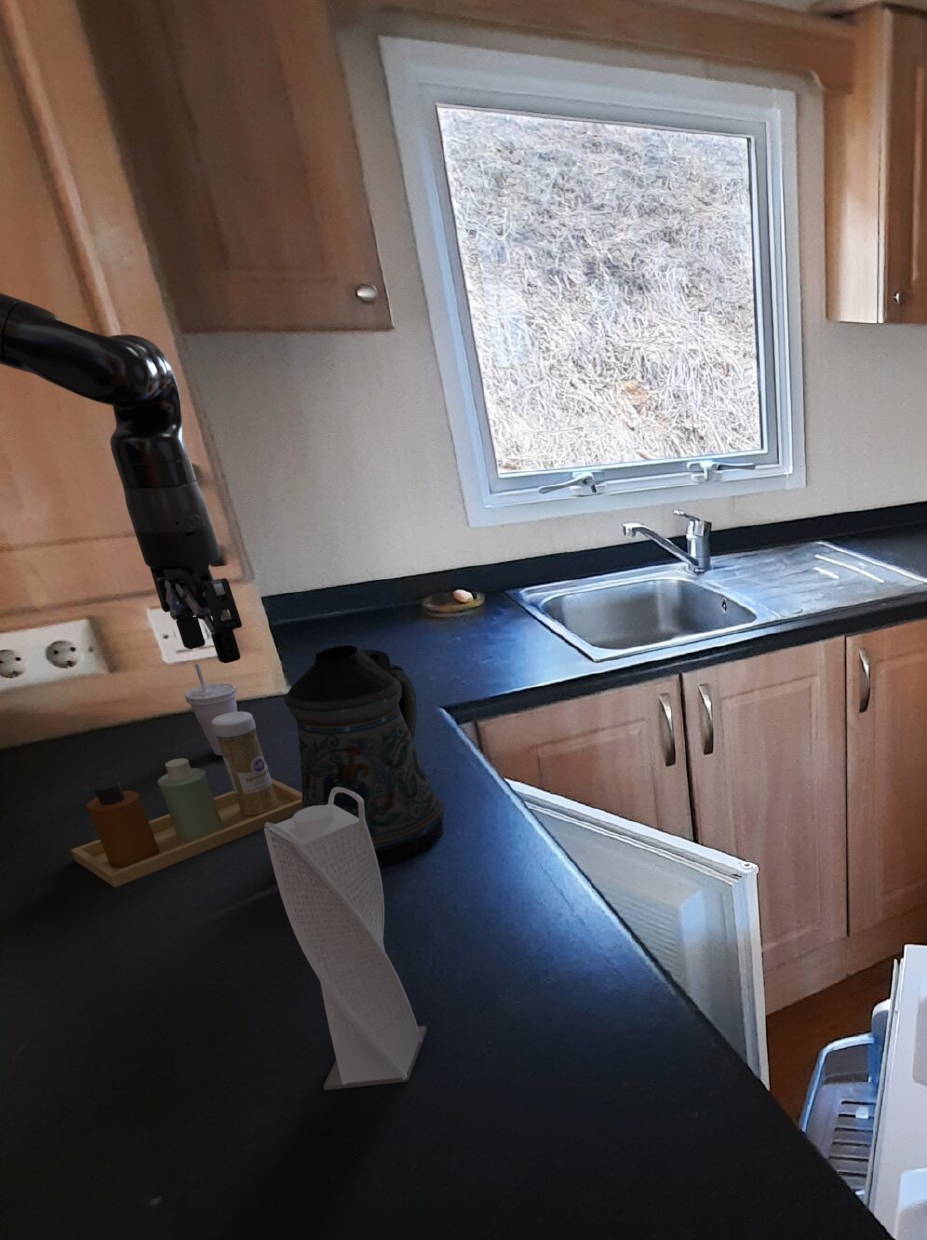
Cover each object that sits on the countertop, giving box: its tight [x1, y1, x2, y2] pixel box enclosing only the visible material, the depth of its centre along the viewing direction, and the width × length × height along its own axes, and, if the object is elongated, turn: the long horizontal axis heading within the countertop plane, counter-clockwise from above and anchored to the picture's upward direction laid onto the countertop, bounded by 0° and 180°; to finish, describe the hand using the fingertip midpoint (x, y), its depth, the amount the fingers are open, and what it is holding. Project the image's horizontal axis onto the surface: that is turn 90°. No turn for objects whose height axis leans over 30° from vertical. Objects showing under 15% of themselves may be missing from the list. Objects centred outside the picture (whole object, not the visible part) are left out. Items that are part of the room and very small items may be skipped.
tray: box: [70, 777, 302, 888], centre depth 125 cm, size 24×11×2 cm, turn 147°
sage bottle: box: [157, 757, 224, 842], centre depth 123 cm, size 5×5×10 cm
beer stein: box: [284, 645, 445, 869], centre depth 121 cm, size 16×19×25 cm
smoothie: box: [184, 663, 238, 756], centre depth 145 cm, size 6×6×14 cm
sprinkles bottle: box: [211, 711, 278, 816], centre depth 128 cm, size 5×5×13 cm
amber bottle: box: [86, 780, 159, 868], centre depth 117 cm, size 5×5×10 cm
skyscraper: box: [263, 787, 428, 1091], centre depth 84 cm, size 8×8×28 cm
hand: (212, 654), depth 121 cm, fingers open, 8 cm apart
